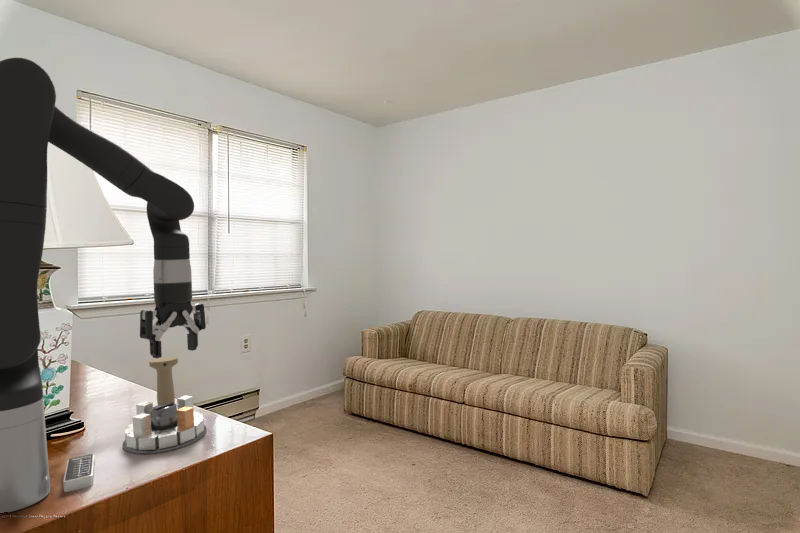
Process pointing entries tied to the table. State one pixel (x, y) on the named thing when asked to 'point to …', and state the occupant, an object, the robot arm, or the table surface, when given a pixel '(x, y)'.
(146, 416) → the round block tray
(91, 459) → the multiport hub
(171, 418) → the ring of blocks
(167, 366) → the handle
